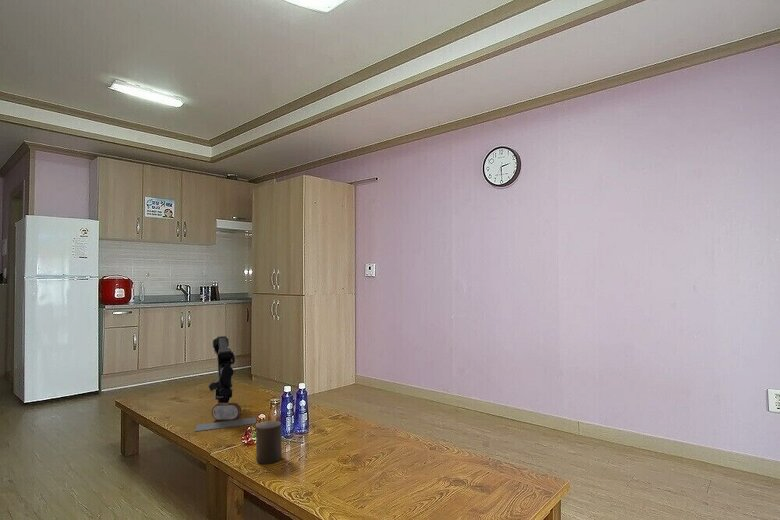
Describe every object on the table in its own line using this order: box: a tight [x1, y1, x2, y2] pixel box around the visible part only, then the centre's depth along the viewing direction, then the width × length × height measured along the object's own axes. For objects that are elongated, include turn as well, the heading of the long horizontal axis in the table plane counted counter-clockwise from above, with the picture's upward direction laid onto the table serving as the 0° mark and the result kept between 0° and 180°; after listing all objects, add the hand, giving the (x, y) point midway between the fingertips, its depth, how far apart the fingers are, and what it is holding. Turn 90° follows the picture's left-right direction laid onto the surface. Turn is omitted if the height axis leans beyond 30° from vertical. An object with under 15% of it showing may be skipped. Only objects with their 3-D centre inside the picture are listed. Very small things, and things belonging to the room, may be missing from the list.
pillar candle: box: [255, 420, 283, 465], centre depth 178 cm, size 10×10×15 cm
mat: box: [194, 416, 257, 432], centre depth 223 cm, size 10×28×1 cm, turn 109°
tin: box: [211, 402, 242, 421], centre depth 230 cm, size 15×3×8 cm, turn 84°
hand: (226, 404), depth 235 cm, fingers closed
